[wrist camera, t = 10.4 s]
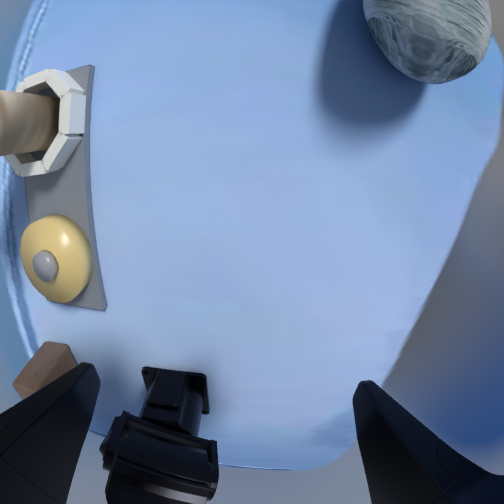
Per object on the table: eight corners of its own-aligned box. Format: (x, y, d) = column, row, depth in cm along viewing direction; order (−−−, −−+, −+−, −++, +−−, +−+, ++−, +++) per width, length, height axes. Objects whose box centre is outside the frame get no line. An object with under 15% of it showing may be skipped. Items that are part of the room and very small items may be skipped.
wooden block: (68, 343, 24) (33, 392, 17) (82, 369, 26) (53, 419, 18) (44, 339, 24) (10, 384, 17) (58, 365, 26) (29, 410, 18)
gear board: (107, 305, 22) (89, 328, 19) (44, 295, 22) (24, 314, 19) (94, 66, 15) (69, 56, 12) (26, 89, 15) (-1, 86, 11)
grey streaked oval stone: (468, 128, 13) (523, 40, 4) (347, 78, 17) (329, -32, 7) (473, 27, 12) (491, -45, 3) (382, -7, 15) (373, -84, 6)
